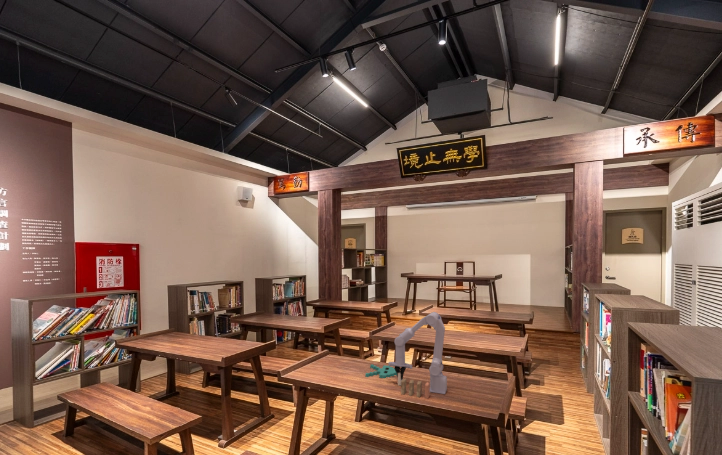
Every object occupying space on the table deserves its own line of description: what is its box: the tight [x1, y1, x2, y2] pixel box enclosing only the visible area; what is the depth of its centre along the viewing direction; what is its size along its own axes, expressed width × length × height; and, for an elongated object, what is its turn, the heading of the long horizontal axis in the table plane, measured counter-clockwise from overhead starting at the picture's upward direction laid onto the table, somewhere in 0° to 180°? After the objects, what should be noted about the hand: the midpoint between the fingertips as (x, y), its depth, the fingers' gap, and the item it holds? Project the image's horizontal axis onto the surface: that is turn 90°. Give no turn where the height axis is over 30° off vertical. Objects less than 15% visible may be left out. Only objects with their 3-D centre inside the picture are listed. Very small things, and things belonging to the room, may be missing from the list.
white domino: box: [397, 371, 404, 386], centre depth 216 cm, size 2×5×7 cm, turn 157°
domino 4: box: [424, 381, 431, 400], centre depth 198 cm, size 2×5×7 cm, turn 158°
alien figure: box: [365, 364, 397, 379], centre depth 236 cm, size 20×2×20 cm
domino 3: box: [416, 380, 423, 398], centre depth 200 cm, size 2×5×7 cm, turn 158°
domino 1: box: [400, 378, 407, 396], centre depth 203 cm, size 2×5×7 cm, turn 158°
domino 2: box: [408, 379, 415, 397], centre depth 201 cm, size 2×5×7 cm, turn 158°
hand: (400, 379), depth 216 cm, fingers closed on white domino, 1 cm apart
